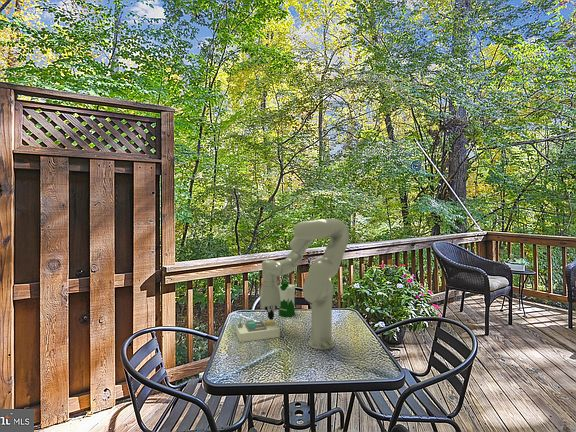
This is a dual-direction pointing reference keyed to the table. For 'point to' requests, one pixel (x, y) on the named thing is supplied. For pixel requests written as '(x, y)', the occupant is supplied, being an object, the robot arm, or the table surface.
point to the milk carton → (286, 299)
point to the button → (269, 323)
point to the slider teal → (251, 325)
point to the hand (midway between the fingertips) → (270, 318)
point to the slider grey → (249, 321)
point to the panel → (256, 331)
